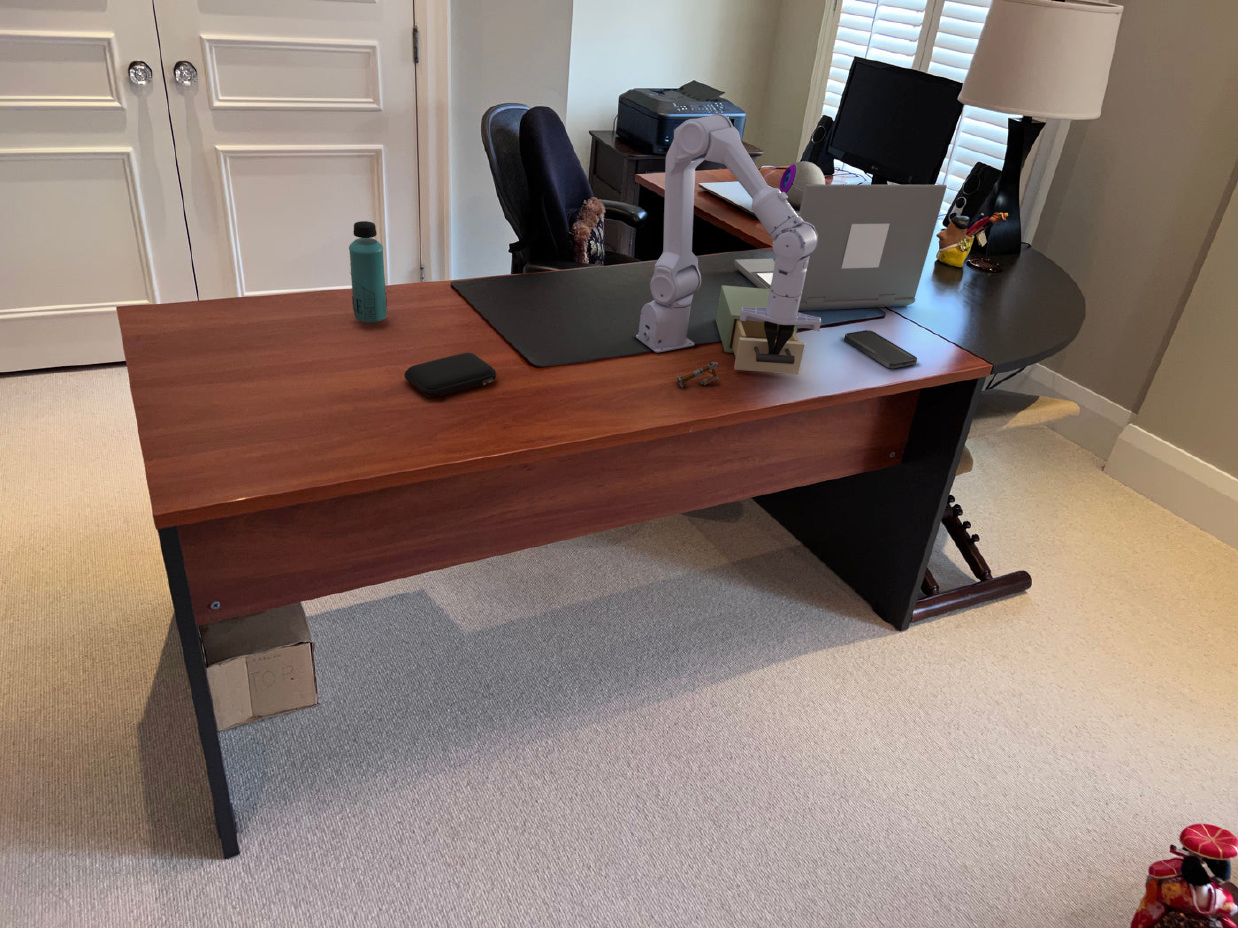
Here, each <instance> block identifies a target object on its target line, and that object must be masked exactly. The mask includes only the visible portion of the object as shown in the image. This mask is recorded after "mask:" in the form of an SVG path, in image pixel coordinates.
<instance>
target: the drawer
mask: <svg viewBox="0 0 1238 928" xmlns="http://www.w3.org/2000/svg"><path fill="white" fill-rule="evenodd" d="M778 327H779V324H778ZM777 331H778V329H777ZM776 339H777V337H776ZM775 343H776V341H775ZM731 345H732V348H733V351H734V353H733V354H734V357H735V359H734V364H733V368H734V370H735V371H747V372H748V371H750V372H761V373H775V374H790V375H799V373H800V369H801V363H802V360H803V355H804V351H805V346H806V345H805V342H804V341H799V338H798V336H797V333H796V334H795V331H794V333H793V335H792V337H791V338H790V339H789V340H788V341H787V342H786V344H785V345H784V347H783V348H782V350H781V352H780V353H779V355H778V354H768V352H769V349H768V342H767V337H766V334H765V330H764V322H758V321H751V320H746V321H740V319H734V325H733V331H732V336H731ZM774 347H775V345H774Z"/></svg>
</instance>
